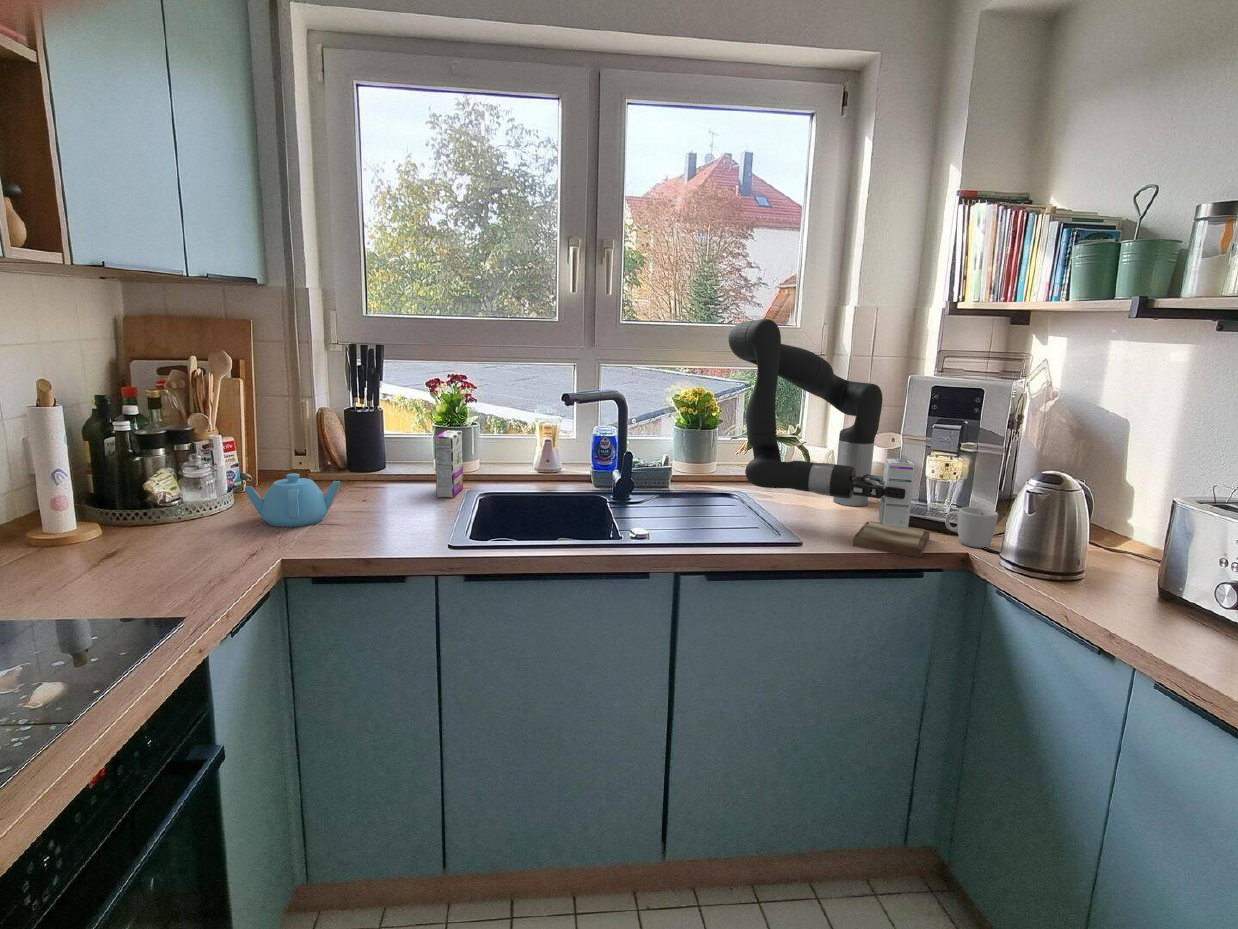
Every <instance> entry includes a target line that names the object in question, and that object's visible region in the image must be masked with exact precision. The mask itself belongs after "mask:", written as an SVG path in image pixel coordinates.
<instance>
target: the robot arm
mask: <svg viewBox="0 0 1238 929" xmlns="http://www.w3.org/2000/svg"><path fill="white" fill-rule="evenodd" d="M727 339H728V345H729V348H730V349H731V351H732V353H733V354H734V356H735V357H737V358H739V360H743V361H746V362H748V363H751V364H753V365H757V366H756V367H757V370H756V371H757V374H756V380H755V384H754V387H753V390H752V393H751V395H750V397H749V400H748V403H747V407H746V412H745V413H746V415H745V416H746V417H745V422H746V435H747V436H746V437H747V443H748V444H749V445H750V446H751V447H752V452H753V459H752V460H750V461H749V462H748V463H747V464H746V467H745V469H744V470H745V472H744V474H745V477H746V479H747V480H748V482H749V483H750V484H751V485H754V486H756V487H760V488H765V489H791V490H796V491H802V492H807V493H813V494H817V495H820V496H827V497H832V498H833V500H832V501H833V503H837V504H839V503H840V505H844V506H850V507H851V506H852V507H864V506H867V505H868V504H869V498H873V499H879V500H881V497H882V498H884V497H891V498H898V499H904V498H905V492H906V490H905V489H902V488H895V487H887V486H885V485H882V484H883V476H880V475H875V474H872V468H873V459H874V448H875V440H876V436H877V434H878V431H879V427H880V426H879V425H880V420H881V419H880V418H881V413H882V407H883V393H882V389H881V388H880V386H878V385H877V384H874V383H868V382H862V381H861V382H860V381H851V380H847V379H845V378H842V377H840V376H838V375H837V374H835V372H834V369H833V367H832V365H831V364H830V362H828V361H827V360H826V359H824V358H823V357H822V356H820V355H819V354H816V353H814V352H813V351H810V350H808V349H805V348H802V347H799V346H794V345H793V346H792V345H788V344H785V343H782V335H781V330H780V328H779V325H778V324H777V323H776V322H775V321H774V320H773V319H769V318H763V319H761V318H760V319H754V320H753V319H752V320H746V321H742V322H740V323H738V324H735V325H734V326H733V327H732V328H731V330H730V331H729V334H728V338H727ZM779 377H780V378H782V379H783V380H785V381H787V382H789V383H791V384H792V385H793V386H795V387H797V388H799V389H802V390H803V391H805V392H807V393H810V394H812V395H813V396H815V397H818V398H821V399H823V400H824V401H826V402H827V403H829V404H830V406H832V407H833V408H835V409H836V410H838V411H839V412H841V413H842V414H845V415H846V416H852V417H855V419H854V423H853V424H852V425H851V426H850V427H846V428H843V429H840V431H839V437H838V446H837V457H836V458H837V459H836V464H835V463H827V462H826V463H825V462H815V461H814V462H813V461H804V460H791V461H783V460H782V456H781V453H780V452H781V451H780V447H779V443H778V440H777V436H778V434H777V432H778V431H777V418H776V416H777V415H776V399H777V396H776V395H777V386H778V378H779Z"/></svg>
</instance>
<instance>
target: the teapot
mask: <svg viewBox="0 0 1238 929" xmlns="http://www.w3.org/2000/svg"><path fill="white" fill-rule="evenodd" d="M285 476H286V478H283V479H278V480H275V481H274V482H273V483H272V484H271V485H270V487H269V489H268V490H267V492H266V494H265V496H264V497H263V498H261V496H260V495H259V494H258V492H257V491H256V490H255V488H254V487H253V485H248V486H247V485H246V486H243V487H244V490H245V492H246V494H247V496H248V497H249V499H250V501H251V503H252V505H253V506H254V508H255V510H256V511H257V513H258V515H260V516H261V518H262V519H263V520H264V521H265V522H266V523H267V524H268V525H270V526H273V527H279V528H280V527H281V528H293V527H294V528H295V527H296V528H297V527H303V526H309V525H315V524H316V523H319V522H321V521H322V520H323V519H324V518H325V517H326V515H327V514H328V512H329V510H330V509H331V506H332V504H333V501H334V499H335V497H336V494H337V492H338V489H339V487H340V484H341V481H340V480H337V481H336V480H333V481H332V483H331V485H330V487H329V489H328V490H327V492H326V494H325V495H324V493H323V492H322V490H321V489H320V487H319V486H318V485H317V483H315V481H314V480H312V479H311V478H304V477H303V478H302V477H300V476H301V475H300V474H299V473H295V472H294V473H287V474H286V475H285Z"/></svg>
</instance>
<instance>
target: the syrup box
mask: <svg viewBox="0 0 1238 929" xmlns="http://www.w3.org/2000/svg"><path fill="white" fill-rule="evenodd" d="M883 468H884V469H883V474H882V477H883V484H882V485H885V486H887V487H895V488H902V489H905V490H906V492H905V498H904V499H898V498H891V497H884V498H882V497H881V498H880V503H879V511H878V512H879V514H878V521H879V522H880V523H881V524H882V526H887V527H896V528H908V527H909V523H910V517H911V516H910V515H911V508H912V507H911V506H912V499H913V498H912V497H913V489H914V481H915V479H914V478H915V472H916V464H915V463H914V462H912V461H911V460H908V459H904V458H903V459H901V458H900V459H899V458H885V460H884V466H883Z"/></svg>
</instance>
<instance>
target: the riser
mask: <svg viewBox="0 0 1238 929" xmlns="http://www.w3.org/2000/svg"><path fill="white" fill-rule="evenodd" d="M930 532H931V531H929V530H926V529H924V528H918V527H911V526H908V528H896V527H887V526H882V524H881V523H880V521H879V522H878V521H872V520H870V521H866V522H865V523H864V524H863V525H862V527H861V528H860V529H859V530H858V532H857V533H856V534H855V535H854V536H853V538H852V547H856V548H862V549H866V550H867V549H868V550H872V551H878V552H885V553H889V554H890V553H891V554H896V555H902V556H906V557H907V556H908V557H914V558H919V559H921V557H922V555H923V553H924V551H925V549H924V548H926V547H927V545H928V542H929V539H930V534H931V533H930ZM926 544H927V545H926ZM925 546H926V547H925Z"/></svg>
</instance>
